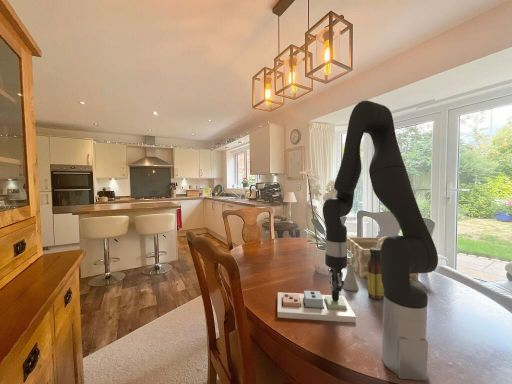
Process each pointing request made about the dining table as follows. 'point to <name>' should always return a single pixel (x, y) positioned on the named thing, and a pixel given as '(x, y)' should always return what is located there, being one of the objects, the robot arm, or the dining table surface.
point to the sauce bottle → (375, 275)
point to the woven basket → (364, 254)
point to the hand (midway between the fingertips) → (335, 299)
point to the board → (315, 311)
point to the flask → (350, 279)
